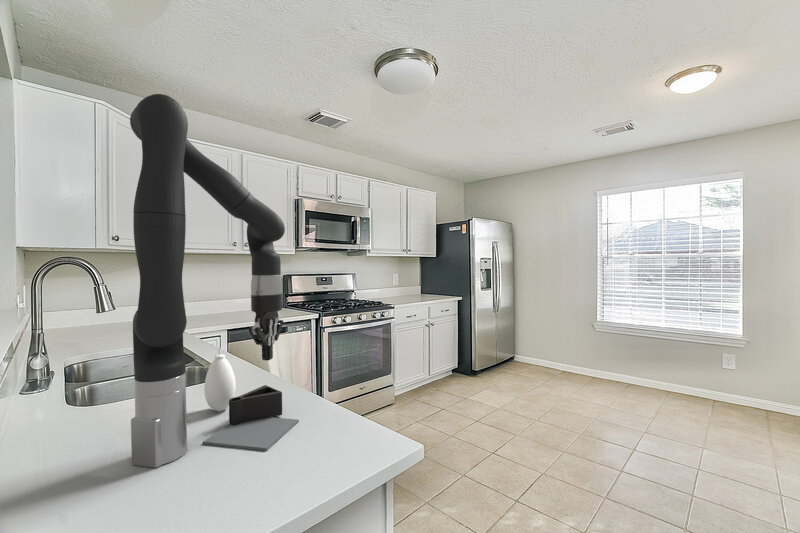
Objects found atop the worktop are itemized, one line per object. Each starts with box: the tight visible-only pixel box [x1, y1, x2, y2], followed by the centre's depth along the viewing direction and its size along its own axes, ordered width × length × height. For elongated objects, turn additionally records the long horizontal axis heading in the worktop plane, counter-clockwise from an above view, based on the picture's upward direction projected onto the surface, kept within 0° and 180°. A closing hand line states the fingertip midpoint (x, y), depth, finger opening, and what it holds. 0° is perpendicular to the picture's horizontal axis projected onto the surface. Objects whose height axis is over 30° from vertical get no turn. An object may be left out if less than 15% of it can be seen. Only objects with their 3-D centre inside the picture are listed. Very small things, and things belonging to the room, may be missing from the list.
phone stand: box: [228, 384, 283, 425], centre depth 99 cm, size 9×6×12 cm
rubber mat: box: [202, 416, 300, 452], centre depth 91 cm, size 15×16×1 cm
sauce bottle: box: [203, 345, 237, 413], centre depth 105 cm, size 8×8×18 cm
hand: (267, 359), depth 97 cm, fingers closed
